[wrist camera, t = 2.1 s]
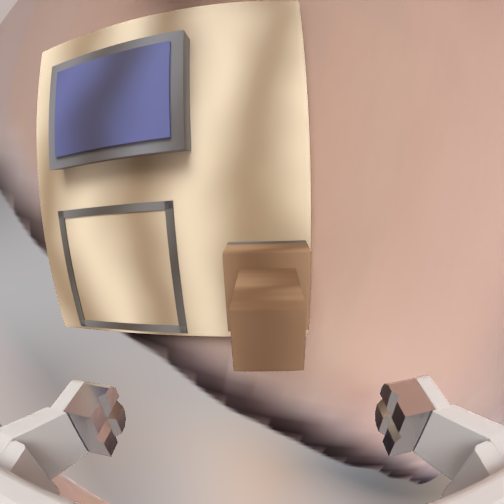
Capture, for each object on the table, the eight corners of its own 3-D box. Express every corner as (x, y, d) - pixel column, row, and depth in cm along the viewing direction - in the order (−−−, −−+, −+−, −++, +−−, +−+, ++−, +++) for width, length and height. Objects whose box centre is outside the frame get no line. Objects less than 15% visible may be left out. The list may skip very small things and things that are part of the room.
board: (297, 8, 14) (301, -13, 12) (305, 327, 20) (310, 349, 17) (50, 55, 15) (29, 47, 12) (71, 320, 21) (54, 336, 18)
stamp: (305, 240, 17) (330, 287, 10) (304, 310, 18) (321, 383, 12) (228, 242, 17) (204, 290, 11) (232, 311, 19) (216, 385, 12)
